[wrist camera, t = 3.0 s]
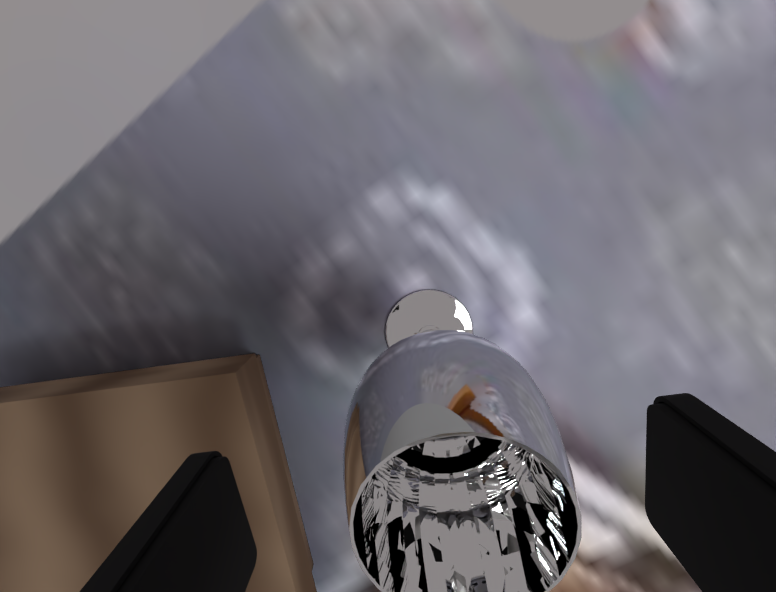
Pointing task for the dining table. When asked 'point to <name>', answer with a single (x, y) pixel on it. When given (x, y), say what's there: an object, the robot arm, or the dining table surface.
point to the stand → (138, 467)
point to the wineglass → (455, 463)
